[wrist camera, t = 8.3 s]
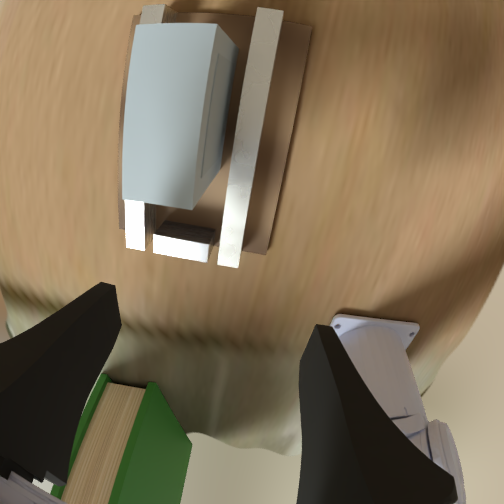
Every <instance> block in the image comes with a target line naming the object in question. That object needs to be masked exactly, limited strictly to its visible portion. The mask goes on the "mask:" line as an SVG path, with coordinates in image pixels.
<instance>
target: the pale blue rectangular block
mask: <svg viewBox="0 0 504 504" xmlns="http://www.w3.org/2000/svg"><path fill="white" fill-rule="evenodd" d="M238 52H239V48H238V47H237V46H236V45H235V43H234V42H233V41H232V40H231V39H230V38H229V37H228V35H227V34H226V33H225V32H224V31H223V30H222V29H221V28H220V26H219V25H218V24H210V23H157V24H141V25H136V28H135V34H134V40H133V46H132V52H131V59H130V66H129V74H128V82H127V91H126V102H125V114H124V129H123V152H122V199H123V200H130V201H137V202H144V203H150V204H157V205H163V206H169V207H176V208H182V209H188V210H193V208H194V207H195V205H196V204H197V202H198V201H199V199H200V198H201V196H202V195H203V193H204V192H205V191H206V189H207V188H208V186H209V185H210V183H211V182H212V181H213V179H214V178H215V176H216V175H217V173H218V172H219V171H220V167H221V159H222V152H223V145H224V138H225V131H226V124H227V118H228V111H229V105H230V99H231V92H232V86H233V80H234V74H235V69H236V63H237V57H238Z"/></svg>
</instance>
